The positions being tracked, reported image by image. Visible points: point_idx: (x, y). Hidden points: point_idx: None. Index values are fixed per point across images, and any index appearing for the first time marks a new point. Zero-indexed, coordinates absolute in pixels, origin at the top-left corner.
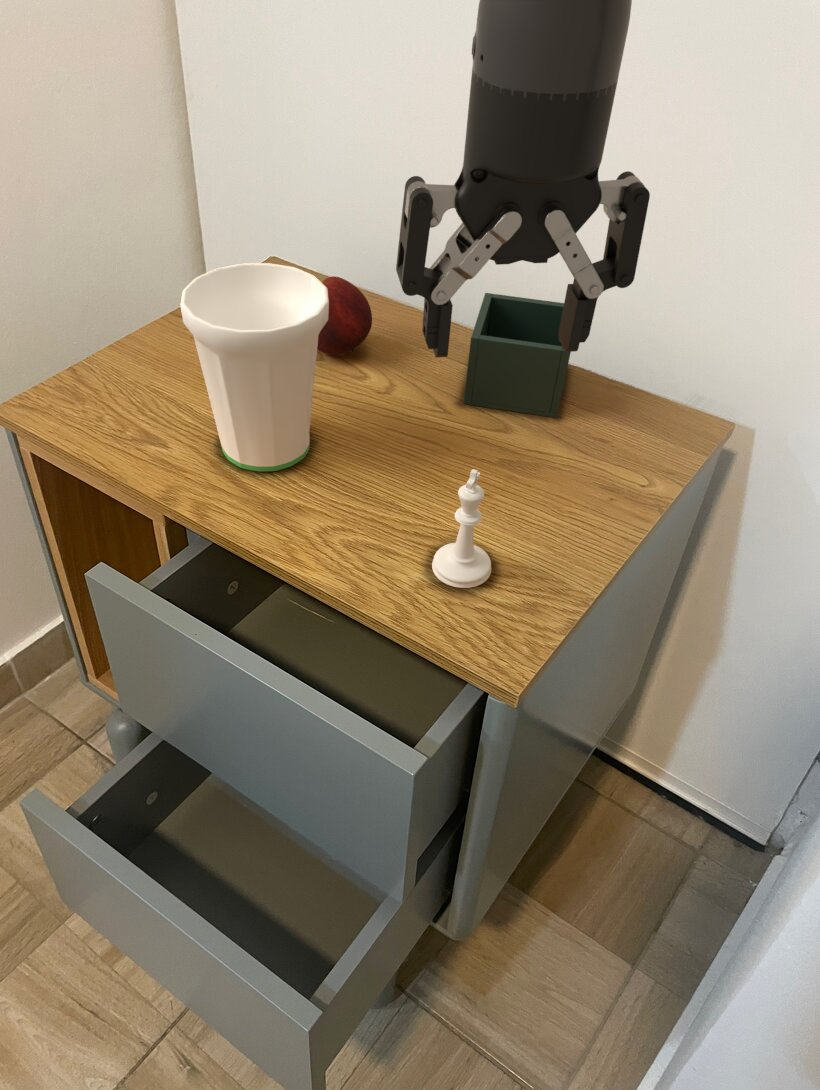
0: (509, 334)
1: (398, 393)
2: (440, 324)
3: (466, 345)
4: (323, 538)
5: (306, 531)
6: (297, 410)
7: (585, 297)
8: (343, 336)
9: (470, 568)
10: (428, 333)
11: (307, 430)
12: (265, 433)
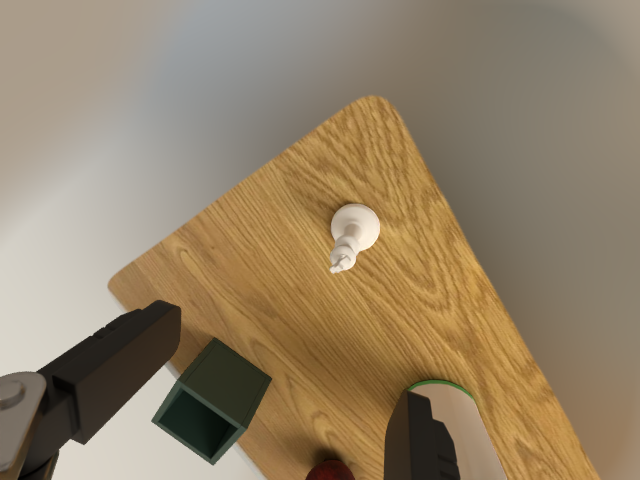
0: (212, 420)
1: (312, 408)
2: (437, 475)
3: None
4: (446, 300)
5: (456, 313)
6: None
7: (56, 386)
8: (334, 476)
9: (353, 217)
10: (451, 461)
11: None
12: (460, 415)
